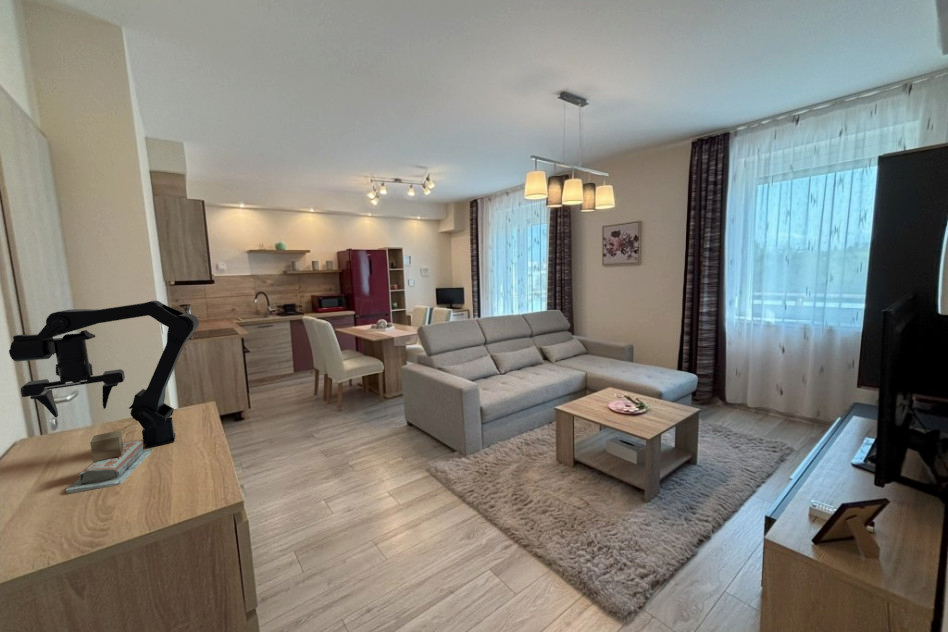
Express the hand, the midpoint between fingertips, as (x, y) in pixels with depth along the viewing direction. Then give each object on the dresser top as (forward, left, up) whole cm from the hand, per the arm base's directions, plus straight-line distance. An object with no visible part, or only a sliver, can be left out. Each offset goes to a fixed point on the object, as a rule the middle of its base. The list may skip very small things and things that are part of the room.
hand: (81, 412), depth 102 cm
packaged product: (-7, +16, -13) cm, 22 cm away
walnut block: (-7, +16, -8) cm, 19 cm away
